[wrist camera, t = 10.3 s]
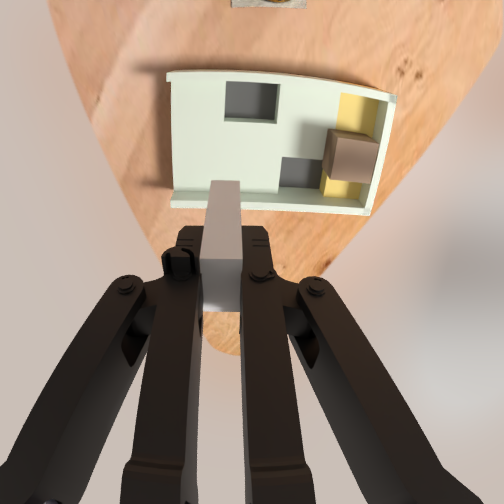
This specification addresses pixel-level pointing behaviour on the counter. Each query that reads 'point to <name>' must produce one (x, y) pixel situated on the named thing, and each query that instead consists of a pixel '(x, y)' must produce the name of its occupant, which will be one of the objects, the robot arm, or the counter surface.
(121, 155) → the counter surface
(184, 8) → the counter surface
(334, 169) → the block
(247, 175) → the box
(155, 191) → the counter surface
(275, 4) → the condiment
